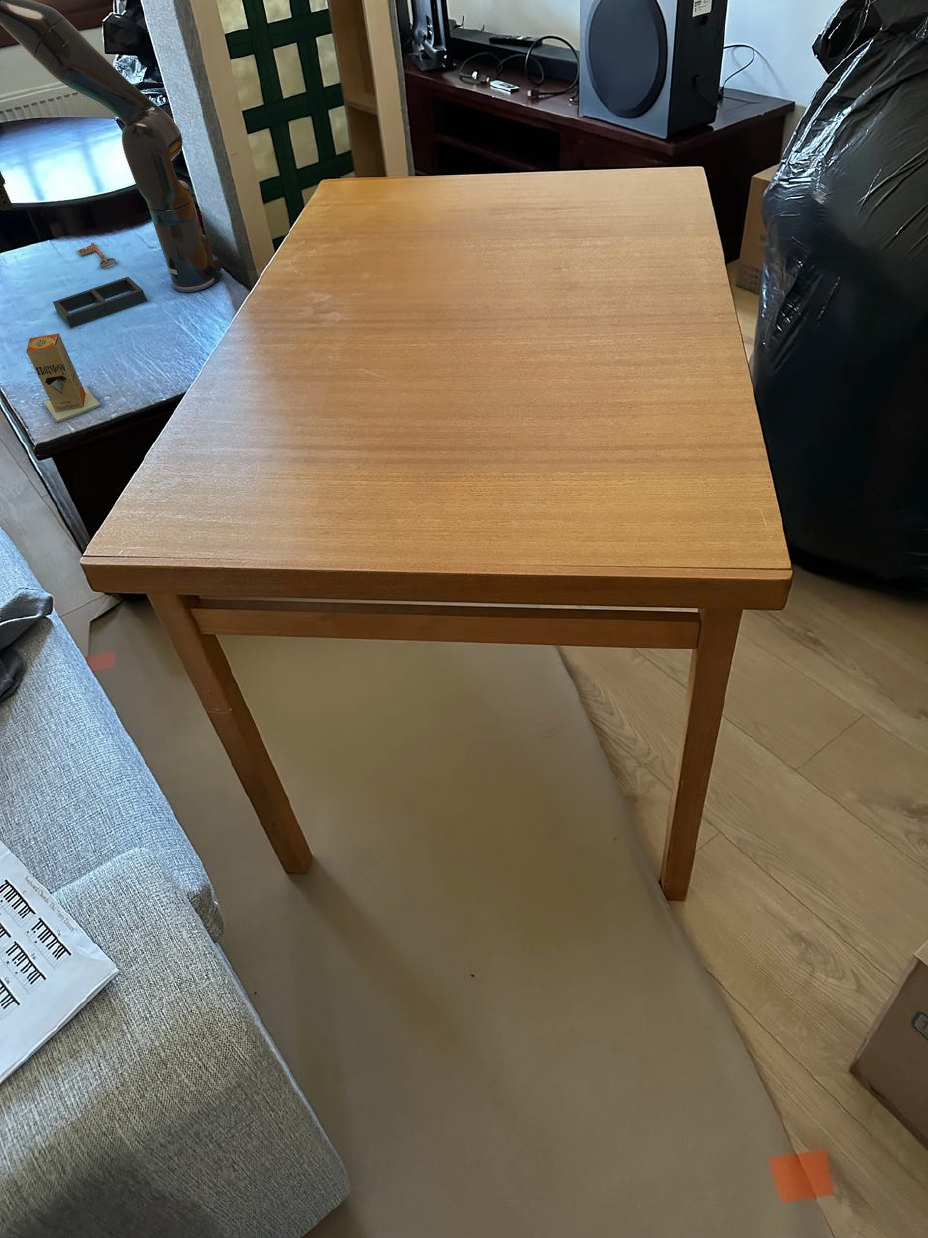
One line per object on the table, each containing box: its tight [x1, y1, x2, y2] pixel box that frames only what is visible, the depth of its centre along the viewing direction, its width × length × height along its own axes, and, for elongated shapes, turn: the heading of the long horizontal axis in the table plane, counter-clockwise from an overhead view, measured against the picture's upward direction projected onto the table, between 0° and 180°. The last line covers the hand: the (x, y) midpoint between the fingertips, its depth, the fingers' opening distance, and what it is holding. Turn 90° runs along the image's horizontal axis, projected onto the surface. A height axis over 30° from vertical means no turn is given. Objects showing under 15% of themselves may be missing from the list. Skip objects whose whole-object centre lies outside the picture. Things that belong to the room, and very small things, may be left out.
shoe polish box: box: [25, 332, 86, 412], centre depth 150 cm, size 5×5×12 cm
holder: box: [52, 276, 147, 329], centre depth 180 cm, size 17×9×2 cm, turn 126°
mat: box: [43, 386, 101, 423], centre depth 154 cm, size 8×8×1 cm
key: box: [77, 242, 116, 268], centre depth 199 cm, size 6×1×15 cm
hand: (0, 202), depth 150 cm, fingers open, 8 cm apart
